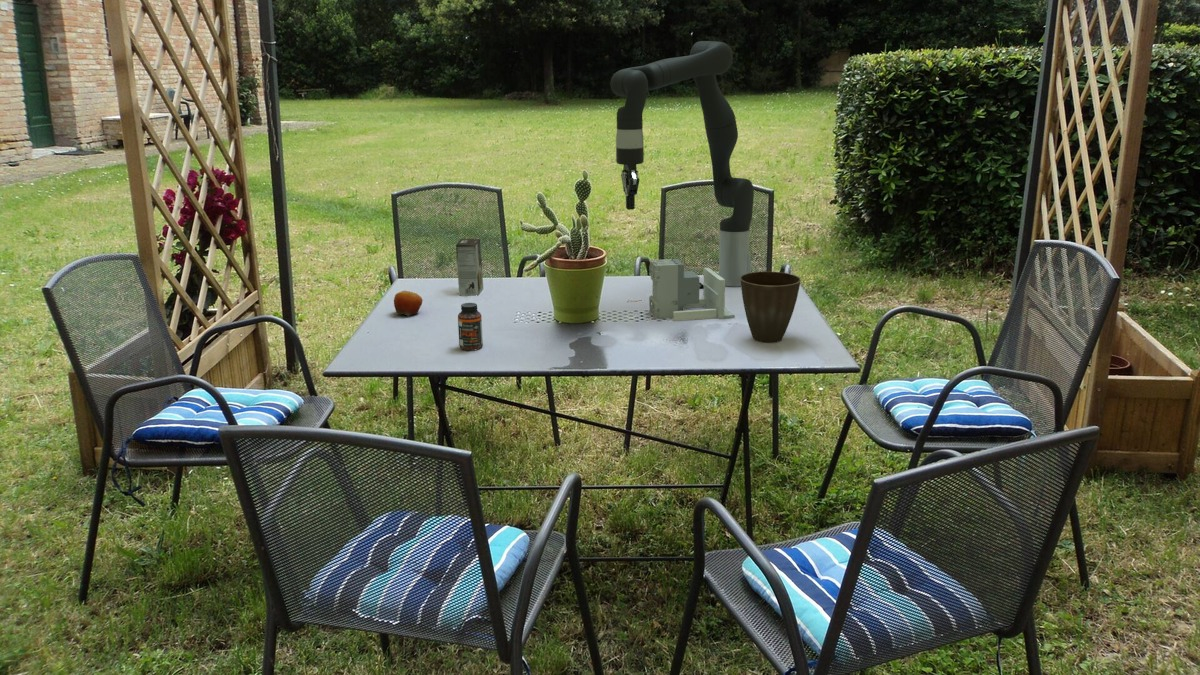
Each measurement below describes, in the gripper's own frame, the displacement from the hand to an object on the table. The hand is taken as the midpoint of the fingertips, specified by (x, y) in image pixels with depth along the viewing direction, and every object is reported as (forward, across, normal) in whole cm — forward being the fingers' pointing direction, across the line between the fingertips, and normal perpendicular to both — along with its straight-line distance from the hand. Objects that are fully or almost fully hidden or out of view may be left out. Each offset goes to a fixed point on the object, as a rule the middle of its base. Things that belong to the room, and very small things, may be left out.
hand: (630, 209), depth 257 cm
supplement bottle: (+29, -25, +47) cm, 61 cm away
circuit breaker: (+29, -8, -12) cm, 32 cm away
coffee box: (+29, +32, +44) cm, 62 cm away
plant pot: (+29, -36, -28) cm, 54 cm away
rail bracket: (+29, -8, -17) cm, 35 cm away
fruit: (+29, +11, +63) cm, 70 cm away
